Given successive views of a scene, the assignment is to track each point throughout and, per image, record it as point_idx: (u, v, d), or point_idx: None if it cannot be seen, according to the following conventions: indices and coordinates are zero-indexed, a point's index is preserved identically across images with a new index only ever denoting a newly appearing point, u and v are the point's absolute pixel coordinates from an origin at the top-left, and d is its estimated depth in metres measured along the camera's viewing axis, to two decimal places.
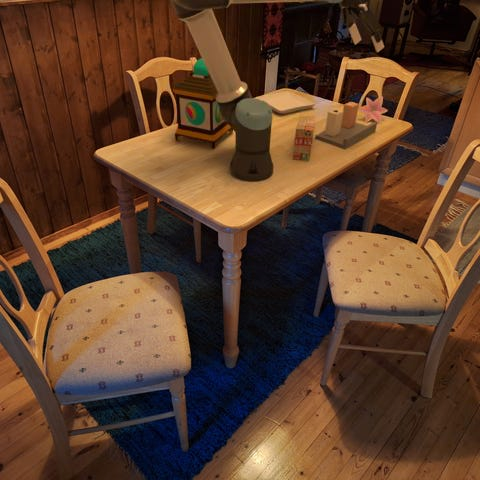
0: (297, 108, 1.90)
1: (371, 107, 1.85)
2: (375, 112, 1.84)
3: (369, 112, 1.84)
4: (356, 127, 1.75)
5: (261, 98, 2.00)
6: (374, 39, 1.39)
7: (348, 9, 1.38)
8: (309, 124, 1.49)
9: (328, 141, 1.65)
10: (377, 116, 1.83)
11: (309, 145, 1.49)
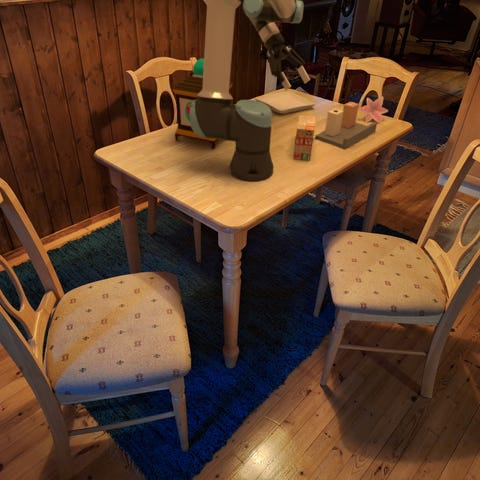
0: (297, 108, 1.90)
1: (371, 107, 1.85)
2: (375, 112, 1.84)
3: (369, 112, 1.84)
4: (356, 127, 1.75)
5: (261, 98, 2.00)
6: None
7: (280, 49, 1.68)
8: (309, 124, 1.49)
9: (328, 141, 1.65)
10: (377, 116, 1.83)
11: (310, 145, 1.49)
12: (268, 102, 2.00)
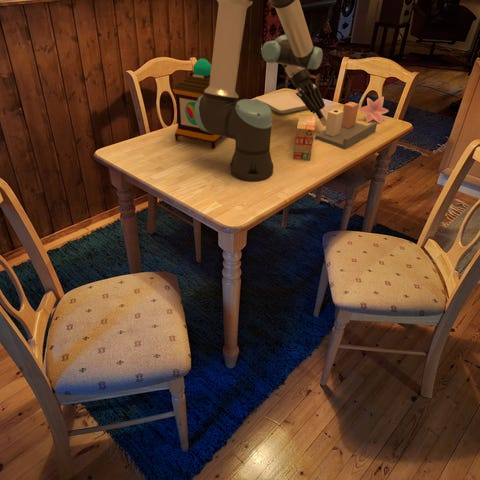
0: (297, 108, 1.90)
1: (372, 108, 1.84)
2: (375, 113, 1.84)
3: (370, 112, 1.84)
4: (356, 127, 1.75)
5: (261, 98, 2.00)
6: None
7: (306, 84, 1.66)
8: (309, 123, 1.49)
9: (328, 141, 1.65)
10: (378, 116, 1.83)
11: (310, 144, 1.49)
12: (268, 102, 2.00)
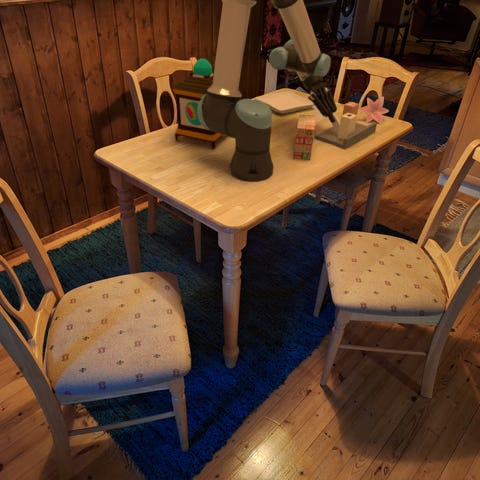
0: (297, 108, 1.90)
1: (372, 108, 1.84)
2: (376, 113, 1.84)
3: (370, 112, 1.84)
4: (356, 127, 1.75)
5: (261, 98, 2.00)
6: None
7: (318, 87, 1.63)
8: (309, 123, 1.49)
9: (328, 141, 1.65)
10: (378, 116, 1.83)
11: (310, 144, 1.50)
12: (268, 102, 2.00)
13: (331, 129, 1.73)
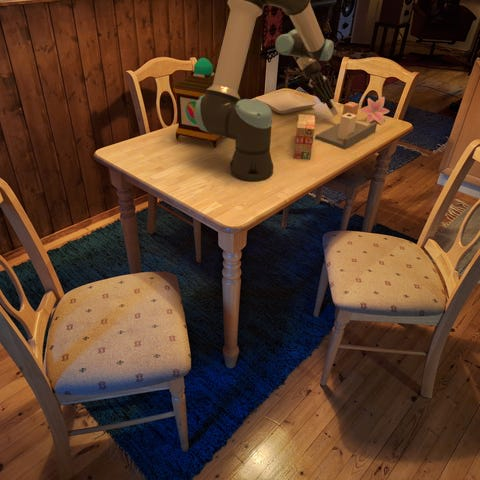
0: (297, 108, 1.90)
1: (373, 108, 1.84)
2: (376, 113, 1.84)
3: (371, 113, 1.84)
4: (356, 127, 1.75)
5: (261, 98, 2.00)
6: None
7: (317, 75, 1.75)
8: (309, 123, 1.50)
9: (328, 141, 1.65)
10: (379, 116, 1.83)
11: (310, 144, 1.50)
12: (268, 102, 2.00)
13: (331, 129, 1.73)
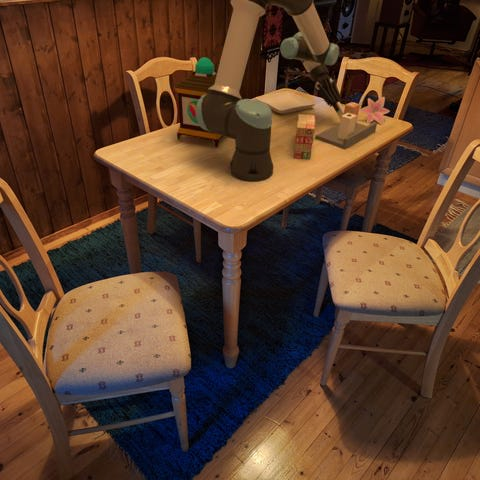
0: (297, 108, 1.90)
1: (373, 108, 1.84)
2: (376, 113, 1.84)
3: (371, 113, 1.84)
4: (356, 127, 1.75)
5: (261, 98, 2.01)
6: None
7: (324, 78, 1.73)
8: (309, 123, 1.50)
9: (328, 141, 1.65)
10: (379, 116, 1.83)
11: (310, 143, 1.50)
12: (268, 102, 2.00)
13: (331, 129, 1.73)
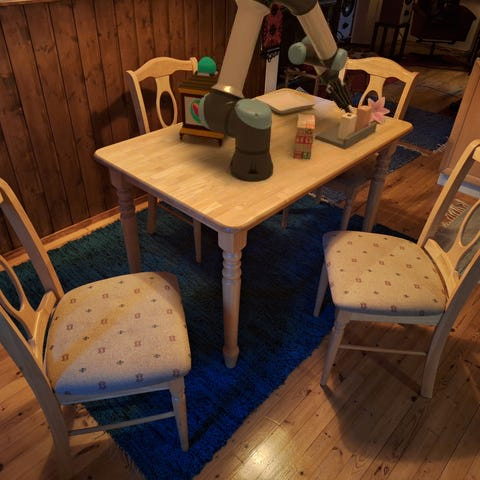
0: (297, 108, 1.90)
1: (373, 108, 1.84)
2: (377, 113, 1.84)
3: (371, 113, 1.83)
4: None
5: (261, 98, 2.00)
6: None
7: (335, 81, 1.70)
8: (309, 122, 1.50)
9: (328, 141, 1.65)
10: (379, 116, 1.83)
11: (310, 143, 1.50)
12: (268, 102, 2.00)
13: (331, 129, 1.73)
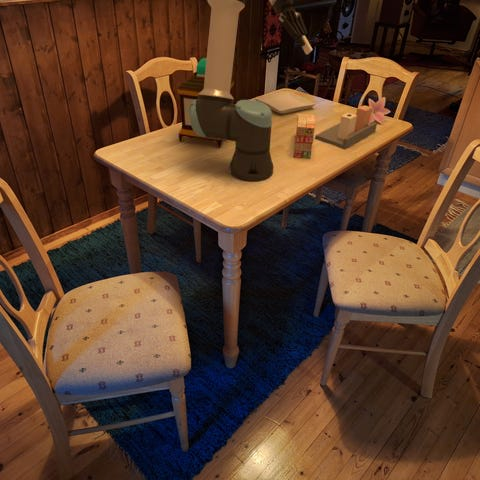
0: (297, 108, 1.90)
1: (373, 108, 1.84)
2: (377, 113, 1.83)
3: (372, 113, 1.83)
4: None
5: (261, 98, 2.01)
6: None
7: (288, 10, 1.65)
8: (309, 122, 1.50)
9: (328, 141, 1.65)
10: (380, 117, 1.82)
11: (310, 143, 1.51)
12: (268, 102, 2.00)
13: (331, 129, 1.73)
